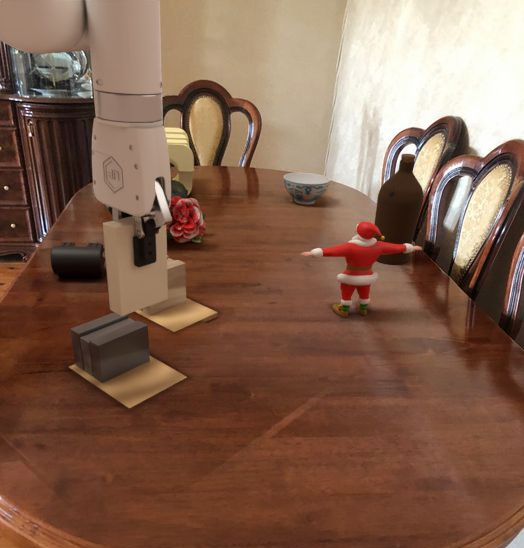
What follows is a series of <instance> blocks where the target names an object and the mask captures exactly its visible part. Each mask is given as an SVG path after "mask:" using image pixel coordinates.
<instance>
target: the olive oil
mask: <svg viewBox="0 0 524 548" xmlns="http://www.w3.org/2000/svg"><path fill="white" fill-rule="evenodd" d="M400 157H401V158H400V160H399V165H398V170H397V171H396V172H395V173H394V174H393V175H392V176H391V177H389V178H388V179H387V180H386V181H385V182H384V183H383V184H382V185H381V187H380V189H379V191H378V193H377V200H376V210H375V218H374V225H376V226H377V227H378V229H379V231H380V233H381V235H382V236H384V237H385V238H384V240H382V239H381V236H379V235H377V234H375V236H374V237H373V238H375V239H376V240H377V241H382V242H386V243H392V244H411V245H413V242H414V241H413V240H414V237H415V234H416V229H417V226H418V222H419V219H420V215H421V211H422V208H423V207H422V206H423V204H424V189H423V187H422V185H421V184H420V182H419V180H418V179H417V177H416V176H415V173H414V169H415V164H416V161H415V160H416V157H417V156H416V155H415V154H414V153H413V154H412V153H401V156H400ZM410 254H411V252H410V253H403V252H401V253H394V254H383V255H381V254H380V256H379V257H378V258H377V260H376V261H375V262H378V263H382V264H387V265H403V264H406V263H407V262H408V261H409V257H410Z"/></svg>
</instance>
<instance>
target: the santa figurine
mask: <svg viewBox="0 0 524 548" xmlns="http://www.w3.org/2000/svg"><path fill="white" fill-rule="evenodd" d="M354 234H355V235H354V236H352V238H351V240H348V241H347V242H345V243H343V244H338V245H334V246H331V247H325V248H321V247H316V248H313V249H311V250H310V251H303V252H301V253H300V256H302V257H305V258H306V257H312V258H314V259H321V258H344V259H345V263H346V269H345V270H344V271H343V272H342V273H338V274H337V276H336V281H337V282H338V283H339V284H340V286H339V287H340V288H339V289H340V291H341V292H340V293H341V299H340V304H338V303H334V304H332V306H331V309H332V312H333V314H334V313H335V314H336V315H338V316H340V317H341V318H348V316H349V309H350V308H351V306H352V305H353V302H354V301H353V299H352V297H353V295H354V292H355V291H356V292H357V295H358V299H357V304H356V309H357V311H358V313H359V315H360V316H363V317H364V316H367V315H368V310H367V309H368V305H369V304H370V301H371V298H370V292H371V285H373V284H375V283H376V282H377V281H378V279H379V274H378V272H377V271H375V270H373V269H372V268H373V265H374V264H375V263H376V262H377V261H376V260H377V258H378V257H379V256H380V254H381V255H383V254H394V253H401V252H403V253H410V254H411V253H412V252H414V251H422V250H423V247H422V246H419V245H413V244H412V245H411V244H392V243H386V242H382V241H377V240H376V239H375V238H373V237H374V236H375V234H377V235H379V236H381V239H382V240H384V238H385V237H384V236H382V235H381V233H380V231H379V229H378V227H377V226H376V225H375V223H372V222H370V221H361V222H359V223H357V225H356V226H355V231H354Z"/></svg>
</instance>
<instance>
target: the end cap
mask: <svg viewBox="0 0 524 548" xmlns="http://www.w3.org/2000/svg"><path fill="white" fill-rule="evenodd" d="M104 253H105V245H104V243H101V242H88V243H87V245H86V246H77V245H76V242H72V241H70V242H67V241H62V242H61V243H60V244H59V245H53V246H52V247H51V249H50V266H51V270H52V273H53V274H54V275H56V276H58V277H64V278H66V277H67V278H69V277H70V278H71V277H72V278H103V277H104V276H105V272H106V266H105V265H106V257H105V256H104Z"/></svg>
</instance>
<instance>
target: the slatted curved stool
mask: <svg viewBox="0 0 524 548" xmlns="http://www.w3.org/2000/svg"><path fill="white" fill-rule="evenodd" d="M164 128H165V133H166V139H167V145H168V153H169V162H170V164H172V165H173V166H174V167H175V169H176V170H177V174H176V176H175V177H174V178H171V180H176V181H179V182H180V183H182V184H183V185H184V186H185V188H186V190H188V196H189V195H190V194H191V192H192V189H193V172H195V157H194V153H193V150H192V149H191V147H190V140H189V135H188V133H187V132H186V131H185V130H184V129H183V128H180V127H166V126H164Z"/></svg>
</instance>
